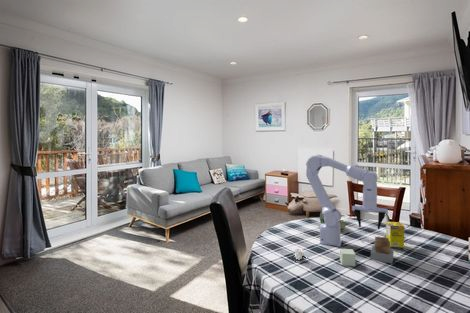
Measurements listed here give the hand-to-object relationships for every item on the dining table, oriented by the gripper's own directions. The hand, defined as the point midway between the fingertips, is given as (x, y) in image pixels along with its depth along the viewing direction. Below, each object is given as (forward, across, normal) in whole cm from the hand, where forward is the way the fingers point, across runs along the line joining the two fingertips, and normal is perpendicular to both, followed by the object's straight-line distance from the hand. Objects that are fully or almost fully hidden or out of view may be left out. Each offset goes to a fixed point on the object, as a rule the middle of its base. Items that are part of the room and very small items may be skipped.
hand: (369, 227), depth 124 cm
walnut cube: (+7, +5, -7) cm, 11 cm away
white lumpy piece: (+11, -25, -21) cm, 34 cm away
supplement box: (+11, +11, +9) cm, 18 cm away
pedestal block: (+11, +5, -7) cm, 14 cm away
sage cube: (+10, -8, -18) cm, 22 cm away
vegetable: (+11, -19, +25) cm, 33 cm away
